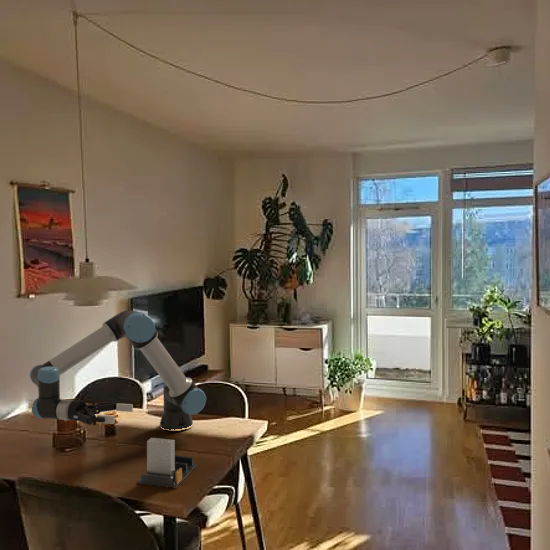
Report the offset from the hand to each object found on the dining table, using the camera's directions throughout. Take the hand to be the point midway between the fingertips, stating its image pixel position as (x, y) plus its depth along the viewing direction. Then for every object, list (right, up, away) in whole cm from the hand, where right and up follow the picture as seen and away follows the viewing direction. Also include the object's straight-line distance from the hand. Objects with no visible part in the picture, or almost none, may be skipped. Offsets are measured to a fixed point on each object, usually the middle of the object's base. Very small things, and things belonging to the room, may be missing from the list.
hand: (123, 413), depth 194 cm
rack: (+17, -22, 0) cm, 28 cm away
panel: (+15, -22, -6) cm, 27 cm away
